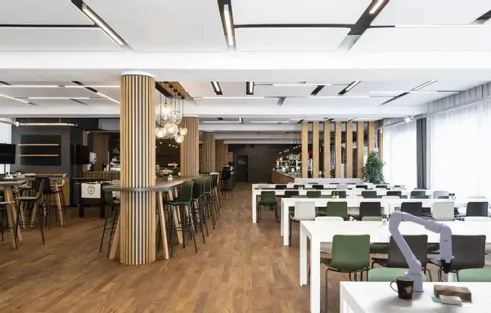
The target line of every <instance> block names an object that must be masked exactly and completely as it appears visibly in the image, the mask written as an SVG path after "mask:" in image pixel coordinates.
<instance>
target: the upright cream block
mask: <svg viewBox="0 0 491 313" xmlns="http://www.w3.org/2000/svg"><path fill="white" fill-rule="evenodd" d="M439 299H440V301H441V303H442V304H450V305H451V304H452V305H459V306H462V305H463V304H462V303H463V302H462V301H463V300H461V299H460V297H455V296H445V295H439ZM441 303H440V304H441Z"/></svg>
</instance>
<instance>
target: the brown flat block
mask: <svg viewBox="0 0 491 313" xmlns="http://www.w3.org/2000/svg"><path fill="white" fill-rule="evenodd" d="M433 293H434V295H435V297H439V295H445V296H455V297H460V299H461V300H462V301H467V302H472V301H473V300H472V299H473V298H472V292H471V290H470V289H469V288H468V287H467V286H465V287H464V286H456V285H455V286H454V285H445V284H436V283H435V284H433Z"/></svg>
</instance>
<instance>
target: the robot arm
mask: <svg viewBox="0 0 491 313" xmlns="http://www.w3.org/2000/svg"><path fill="white" fill-rule="evenodd" d="M402 221H403V222H411V223H414V224H418V225H420V226H423V227H424V229H425V230H426V231H430V232H432V233H435V234H439V258H441V259H439V261H440V263H441V266H442V271H443V274H444V275H449V273H450V270H451V266H452V264H453V261H452V259H455V256H454V255H453V254H452V251H453V250H452V248H453V246H452V234H453V232H452V231H453V230H452V229H451V227H450V226H449V225H447V224H444V223H440V222H439V221H438V222H437V221H435V219H433V218H432V219H429V218H428V219H427V220H426V219H423V218H421V217H419V216H415V215H413V214H411V213H408V212H405V211H400V210H394V211H392V213H391V214H390V216H389V218H388V231H389V233H390V234H391V236H392V238H393V240H394V241H395V243H396V245H397V247H398V248H399V250H400V251H401V253H402V255H403V257H404V258H405V261H406V264H407V265H408V270H407V271H406V272H403V273H404V275H403V276H406V277H411V278H413V279H414V285H413V292H422V293H424V292H425V290H424V287H423V284H424V283H423V282H424V281H423V279H424V278H423V272H422V262H421V261H420V259H417V257H416V256H415V255H414V253H413V251H412V250H411V248H410V247H409V245H408V243H407V241H406V240H405V239H404V237H403V235H402V233H401V231H400V230H399V226H400V224H401V223H402Z"/></svg>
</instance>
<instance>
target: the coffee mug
mask: <svg viewBox="0 0 491 313" xmlns="http://www.w3.org/2000/svg"><path fill="white" fill-rule="evenodd" d="M393 283H395V284H396V287H397V290H396V289H395V288H393V286H392V285H393ZM413 285H414V279H413V278H411V277H406V276H404V275H403V276H402V275H399V276H396V278H395V280H392V281H391V282H390V285H389V287H390V288H391V289H392V290H393V291H394V292H396V293H397V294H398V296H397V297H398V299H400V300H403V301H411V300H413V293H414V291H413Z"/></svg>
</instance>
